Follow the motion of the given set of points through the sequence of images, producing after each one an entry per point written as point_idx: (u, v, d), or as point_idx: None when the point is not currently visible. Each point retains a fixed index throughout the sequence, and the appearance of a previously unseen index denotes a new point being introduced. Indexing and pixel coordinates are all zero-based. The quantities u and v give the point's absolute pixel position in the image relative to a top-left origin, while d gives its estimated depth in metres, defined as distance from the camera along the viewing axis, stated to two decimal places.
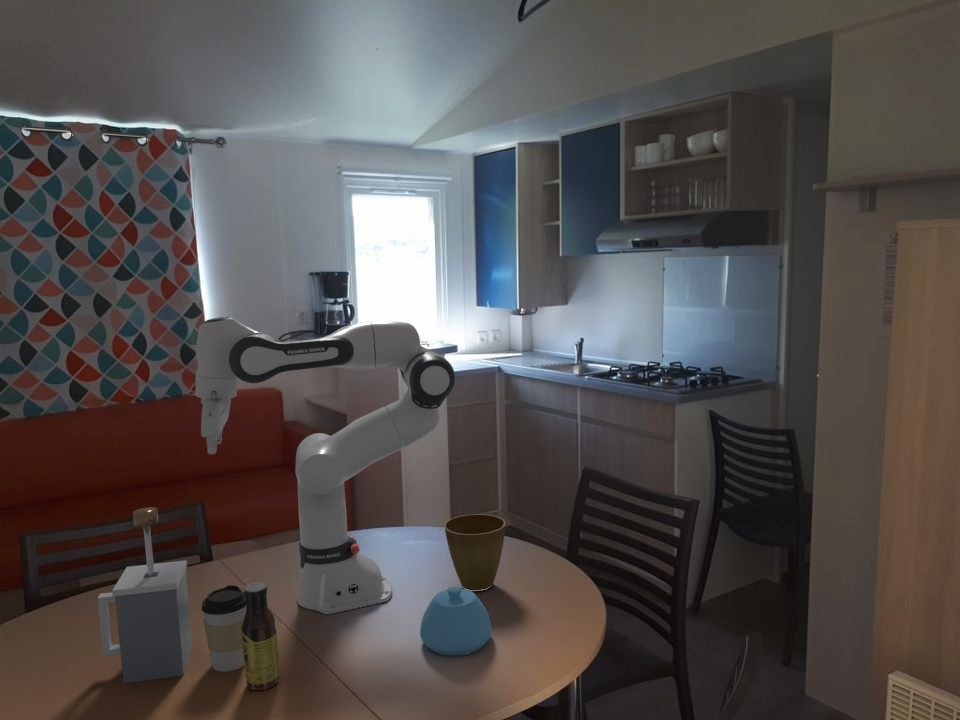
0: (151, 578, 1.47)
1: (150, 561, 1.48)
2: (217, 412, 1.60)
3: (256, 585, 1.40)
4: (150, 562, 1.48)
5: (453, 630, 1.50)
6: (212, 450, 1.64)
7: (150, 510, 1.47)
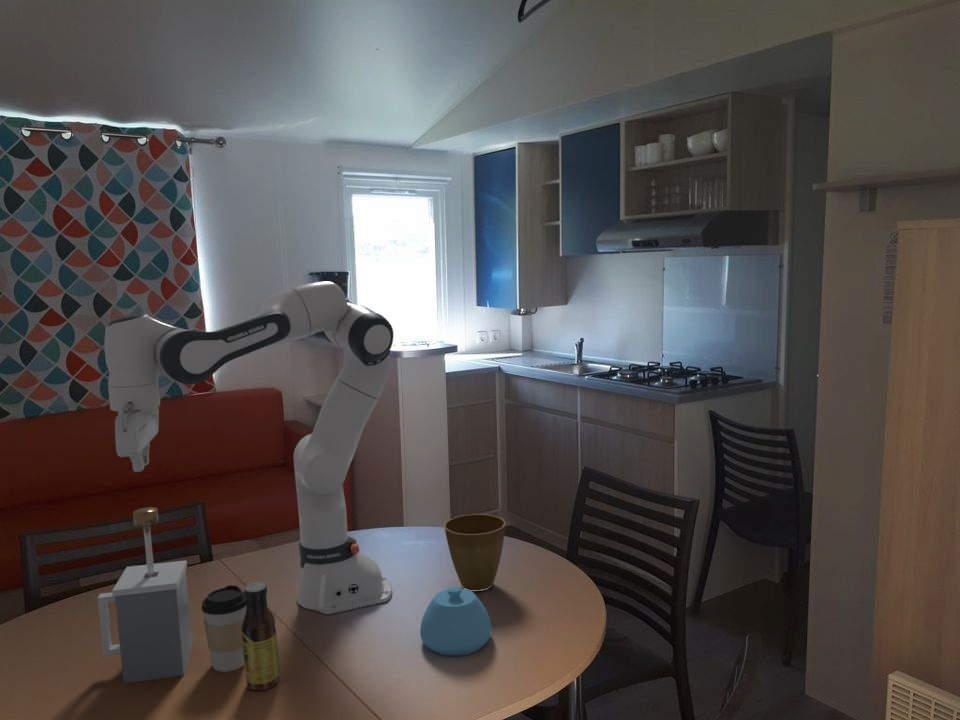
0: (151, 578, 1.47)
1: (150, 561, 1.48)
2: (133, 426, 1.36)
3: (256, 585, 1.40)
4: (150, 562, 1.48)
5: (453, 630, 1.50)
6: (138, 467, 1.43)
7: (150, 510, 1.47)
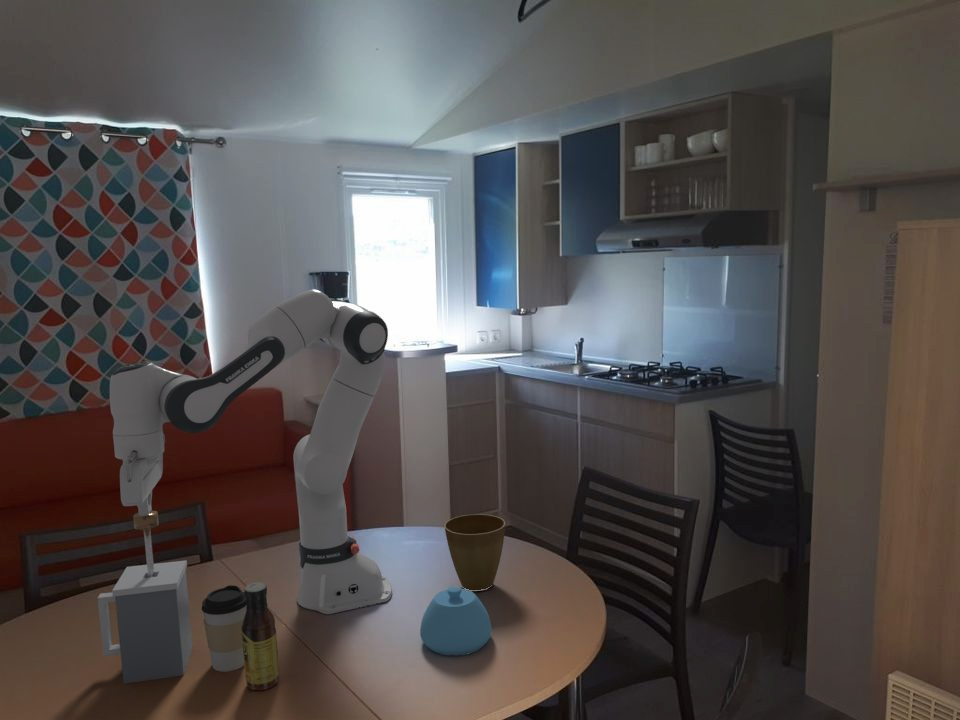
0: (151, 578, 1.47)
1: (150, 564, 1.48)
2: (138, 476, 1.37)
3: (256, 585, 1.40)
4: (150, 565, 1.48)
5: (453, 630, 1.50)
6: (144, 512, 1.45)
7: (150, 513, 1.47)
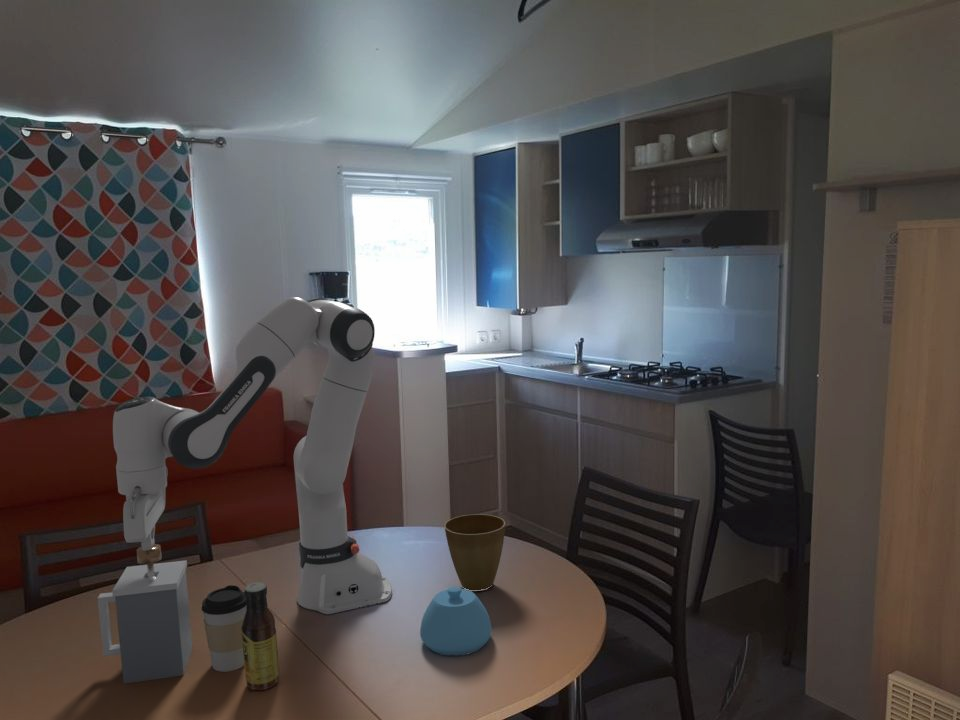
0: (151, 578, 1.47)
1: None
2: (141, 513, 1.38)
3: (256, 585, 1.41)
4: None
5: (453, 630, 1.50)
6: (147, 546, 1.46)
7: (153, 547, 1.48)
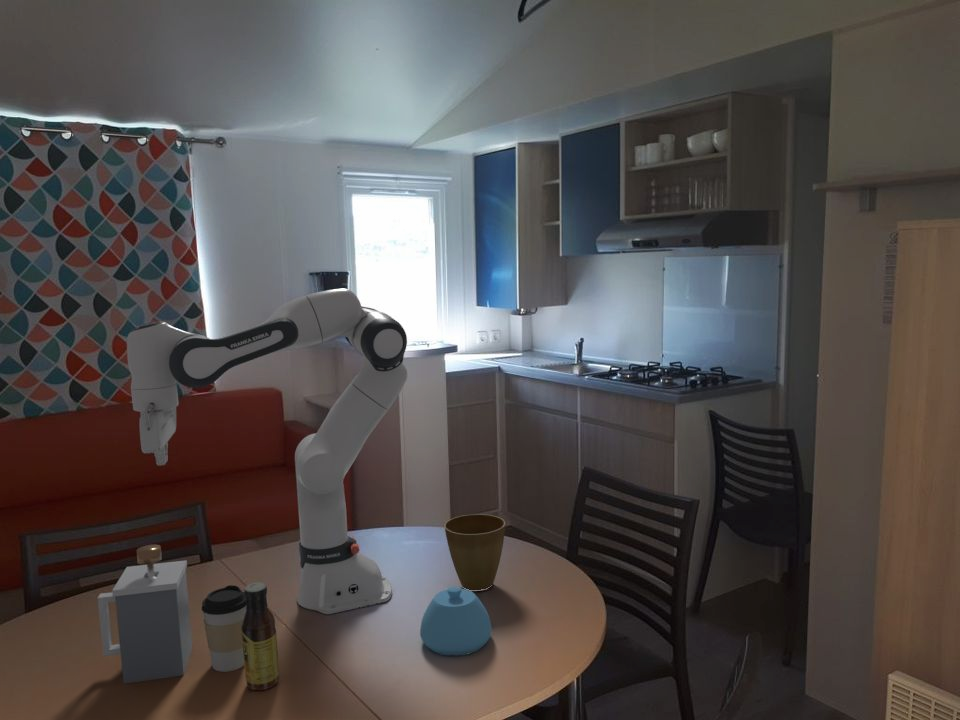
0: (151, 578, 1.47)
1: None
2: (156, 425, 1.48)
3: (256, 585, 1.40)
4: None
5: (453, 630, 1.50)
6: (161, 461, 1.56)
7: (153, 548, 1.48)
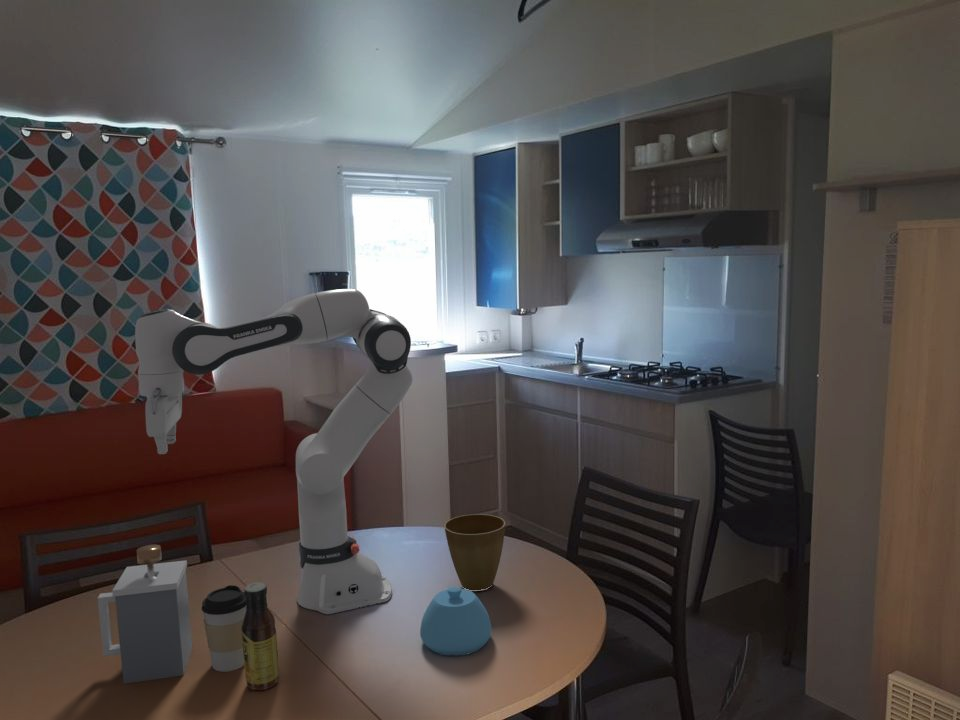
0: (151, 578, 1.47)
1: None
2: (161, 409, 1.51)
3: (256, 585, 1.40)
4: None
5: (453, 630, 1.50)
6: (162, 450, 1.56)
7: (153, 548, 1.48)
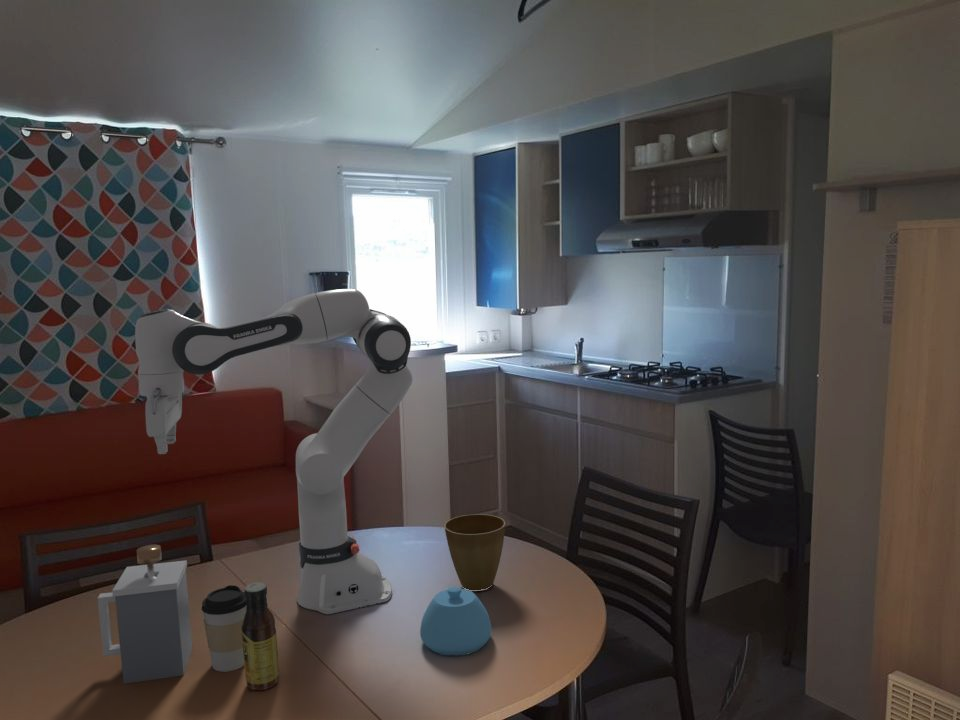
0: (151, 578, 1.47)
1: None
2: (161, 409, 1.51)
3: (256, 585, 1.40)
4: None
5: (453, 630, 1.50)
6: (162, 450, 1.56)
7: (153, 548, 1.48)
